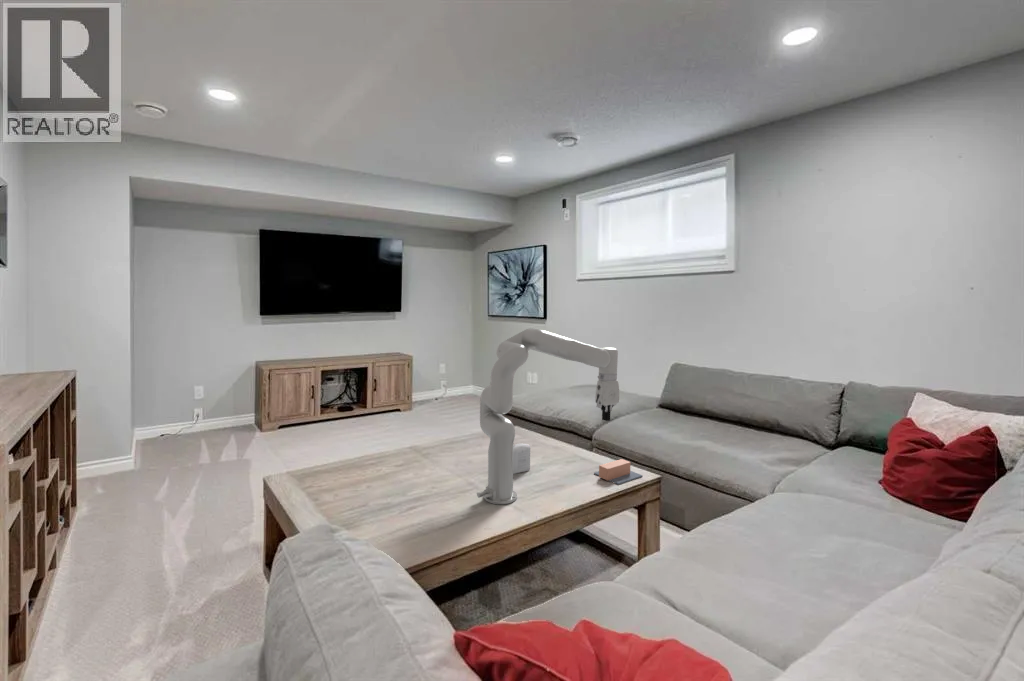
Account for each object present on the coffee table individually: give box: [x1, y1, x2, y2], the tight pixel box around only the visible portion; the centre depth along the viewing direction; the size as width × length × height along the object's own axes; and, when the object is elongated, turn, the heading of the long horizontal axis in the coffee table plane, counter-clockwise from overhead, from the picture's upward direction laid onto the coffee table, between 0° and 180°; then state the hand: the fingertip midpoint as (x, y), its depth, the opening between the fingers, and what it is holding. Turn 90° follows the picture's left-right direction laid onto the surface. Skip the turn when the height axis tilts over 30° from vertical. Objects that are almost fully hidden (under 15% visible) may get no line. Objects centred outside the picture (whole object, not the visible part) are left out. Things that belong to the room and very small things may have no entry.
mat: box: [593, 470, 643, 485], centre depth 207 cm, size 15×14×1 cm
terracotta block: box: [598, 458, 632, 481], centre depth 205 cm, size 5×5×14 cm
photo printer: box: [513, 442, 531, 475], centre depth 210 cm, size 10×4×12 cm, turn 123°
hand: (606, 420), depth 201 cm, fingers closed
